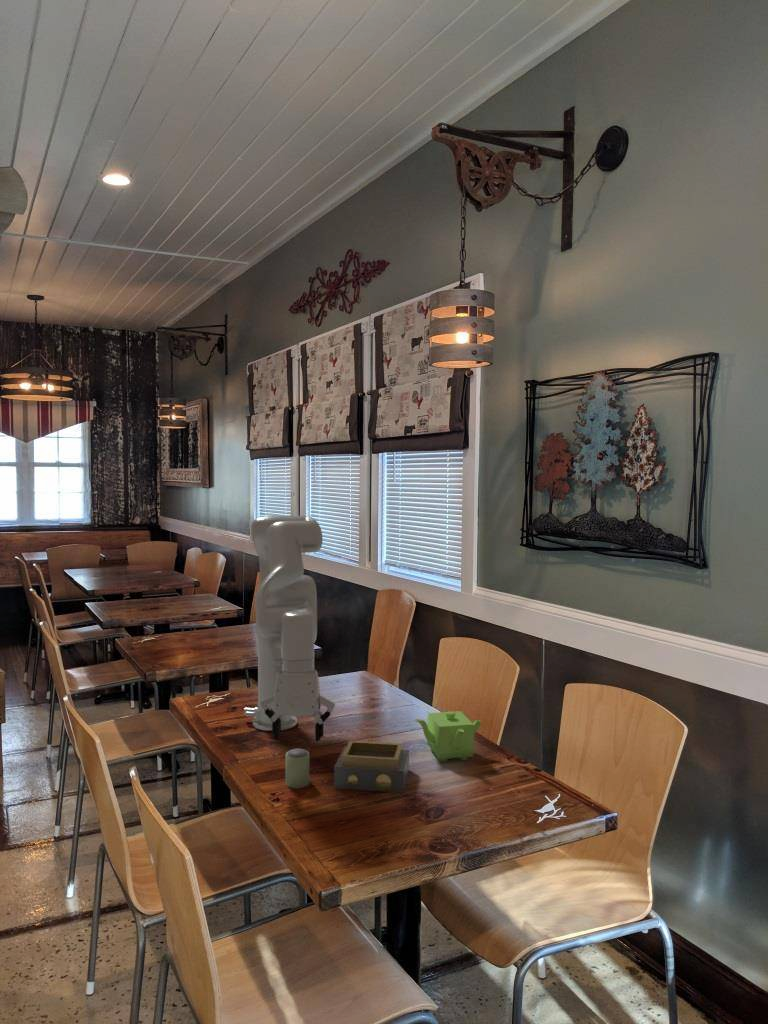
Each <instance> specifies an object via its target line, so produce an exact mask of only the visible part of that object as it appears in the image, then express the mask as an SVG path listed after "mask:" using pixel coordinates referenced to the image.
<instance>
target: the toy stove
mask: <svg viewBox="0 0 768 1024" xmlns="http://www.w3.org/2000/svg"><path fill="white" fill-rule="evenodd" d="M403 746H404V745H403V743H397V742H395V743H393V742H379V741H364V740H363V741H362V740H361V741H360V740H349V741H348V743H347V745H344V746H343V748H342V750H341V751H340V754H339V756H338V758H337V759H336V760H337V761H336V763H335V764H334V766H333V787H334V788H333V789H339V790H356V791H368V792H370V791H371V792H385V793H388V792H389V793H398V794H403V793H404V792H405V788H406V785H407V779H408V775H409V772H410V750H409V749H403Z"/></svg>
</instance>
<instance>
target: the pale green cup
mask: <svg viewBox="0 0 768 1024" xmlns="http://www.w3.org/2000/svg"><path fill="white" fill-rule="evenodd" d="M284 759H285V765H284V766H285V767H284V768H285V779H284V781H285V786H286V787H288V788H291V789H301V788H305V787H307V786H309V784H310V752H309V751H308V750H306V749H305V748H292V749H289V750H288V751H286V753H285V758H284Z"/></svg>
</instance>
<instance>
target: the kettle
mask: <svg viewBox="0 0 768 1024" xmlns="http://www.w3.org/2000/svg"><path fill="white" fill-rule="evenodd" d="M414 721H415V722H417V723H419V724H420V726H421V727H422V730H423V734H424V737H425V738H426V739H425V740H427V745H428V747H429V748H430V750H431V751H432V754H434V755H435V756H436V758H437V760H438V762H441V763H445V762H448V759H458V760H460V761H467V760H468V759H469V758H472V757H474V752H475V750H474V738H475V737H474V736H475V734H476V732H478V730H479V728H480V726H481V724H482V723H483V722H482V721H481V720H479V719H474V720H473V722H472V721H471V720H470V719H469V718H468V717H467V716H466V714H464V713H463V712H462V711H461V710H459V711H457V710H456V711H452V710H451V711H442V712H428V713H427V722H426V721H425V720H424V719H421V718H419V719H417V718H416V719H414Z"/></svg>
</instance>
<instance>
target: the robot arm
mask: <svg viewBox="0 0 768 1024" xmlns="http://www.w3.org/2000/svg"><path fill="white" fill-rule="evenodd" d="M251 522H252V523H251V527H250V533H251V540H252V542H253V545H254V549H255V550H256V554H257V556H258V560H259V561H258V562H259V586H258V588H257V591H256V593H255V600H254V603H255V604H254V608H255V609H254V610H255V624H254V635H255V641H256V647H257V649H256V650H257V701H258V702H257V706H256V707H255V708H254V707H245V708H243V714H244V715H245V717H249V718H250V717H251V718H252V717H253V719H252V727H254V728H255V729H258V730H261V731H266V732H272V733H271V734H272V735H274V737H273V738H274V740H279V738H280V737H281V736H282V731H285V730H288V729H289V730H290V729H292V728H294V727H295V726H297V724H298V718H299V717H300V718H302V717H303V718H311V717H312V718H313V719H314V721H316V723H315V727H314V729H315V731H314V732H315V733H314V734H315V736H314V738H315V739H314V740H315V742H320V740H321V738H322V737H324V722H325V721H326V720H328V719H329V718H330V716H331V714H332V712H333V710H334V709H335V708H336V707H335V706H336V703H335V702H333V701H331V700H329V699H327V698H326V697H325V696H322V695H321V690H320V679H319V674H318V671H317V669H315V643H316V640H317V635H318V597H317V596H318V595H317V594H318V593H317V587H316V586H317V585H316V582H315V580H314V578H313V577H312V576H310V575H307V574H304V573H305V571H304V570H305V568H304V563H303V562H304V561H303V556H302V553H317V552H319V551H320V550H321V548H322V546H323V532H322V528H321V526H320V524H319V523H318V521H317V519H314V517H312V516H309V515H266V516H260V517H257V518H255V519H253V521H251ZM321 705H323V706H324V707H326V708H327V709H326V711H325V712H324V713H322V711H321Z"/></svg>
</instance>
